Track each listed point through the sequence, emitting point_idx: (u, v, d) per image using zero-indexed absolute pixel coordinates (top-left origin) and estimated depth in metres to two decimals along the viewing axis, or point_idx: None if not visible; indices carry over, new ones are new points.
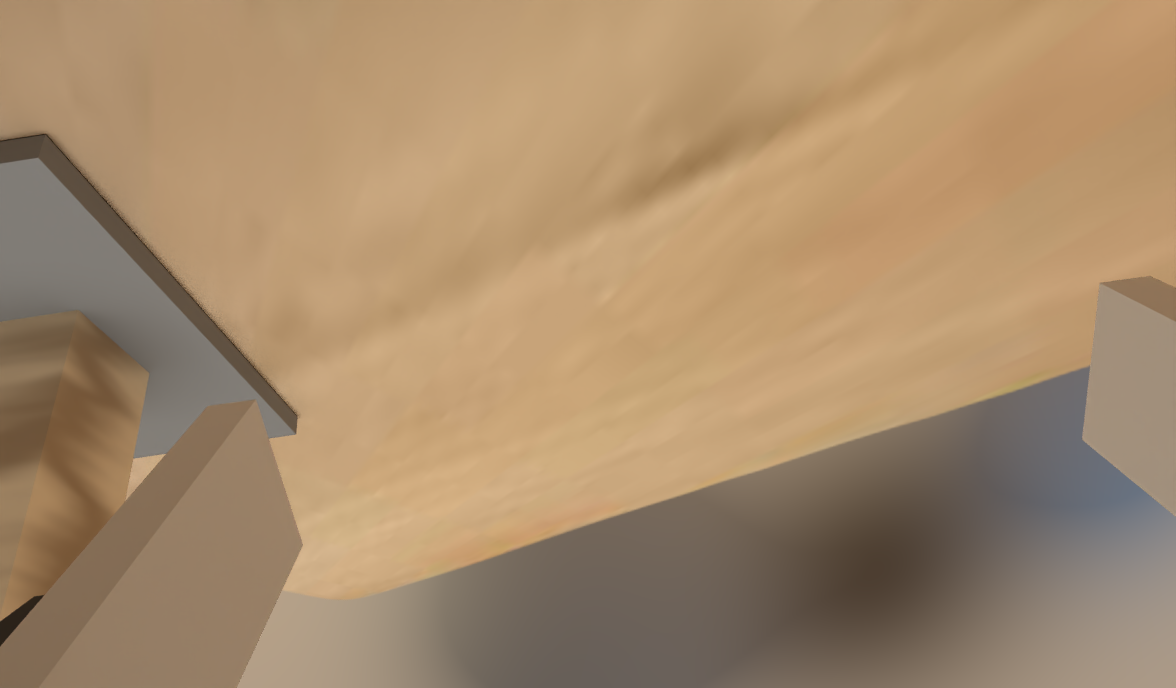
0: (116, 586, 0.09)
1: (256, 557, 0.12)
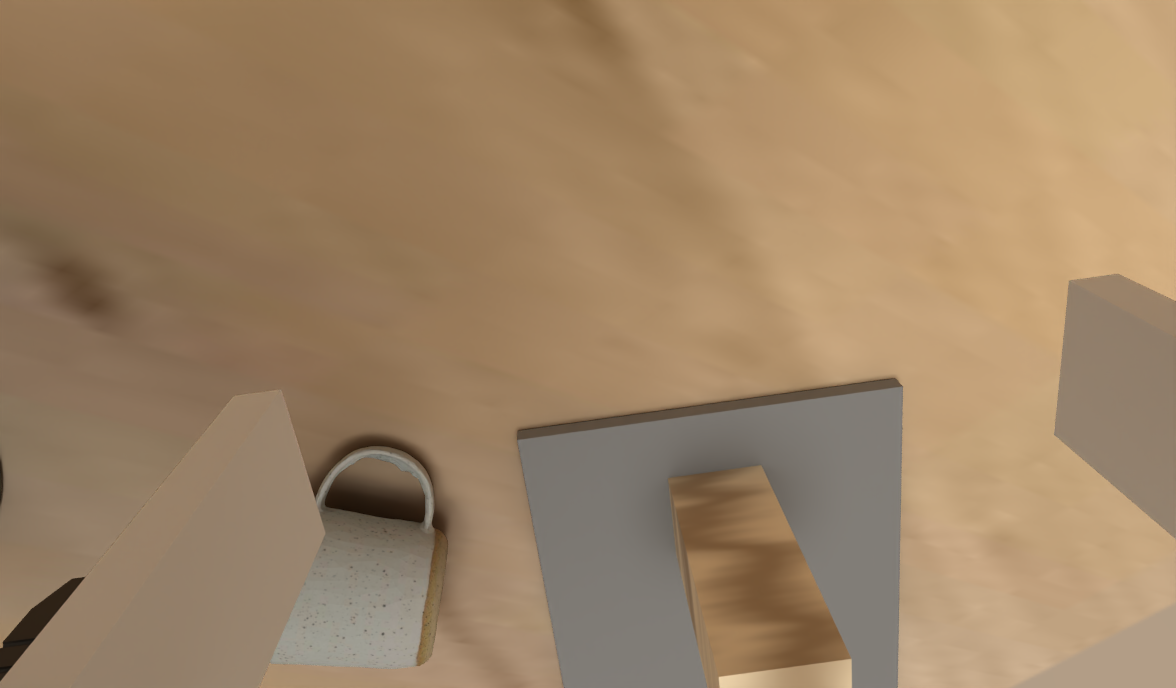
0: (157, 567, 0.09)
1: (283, 543, 0.12)
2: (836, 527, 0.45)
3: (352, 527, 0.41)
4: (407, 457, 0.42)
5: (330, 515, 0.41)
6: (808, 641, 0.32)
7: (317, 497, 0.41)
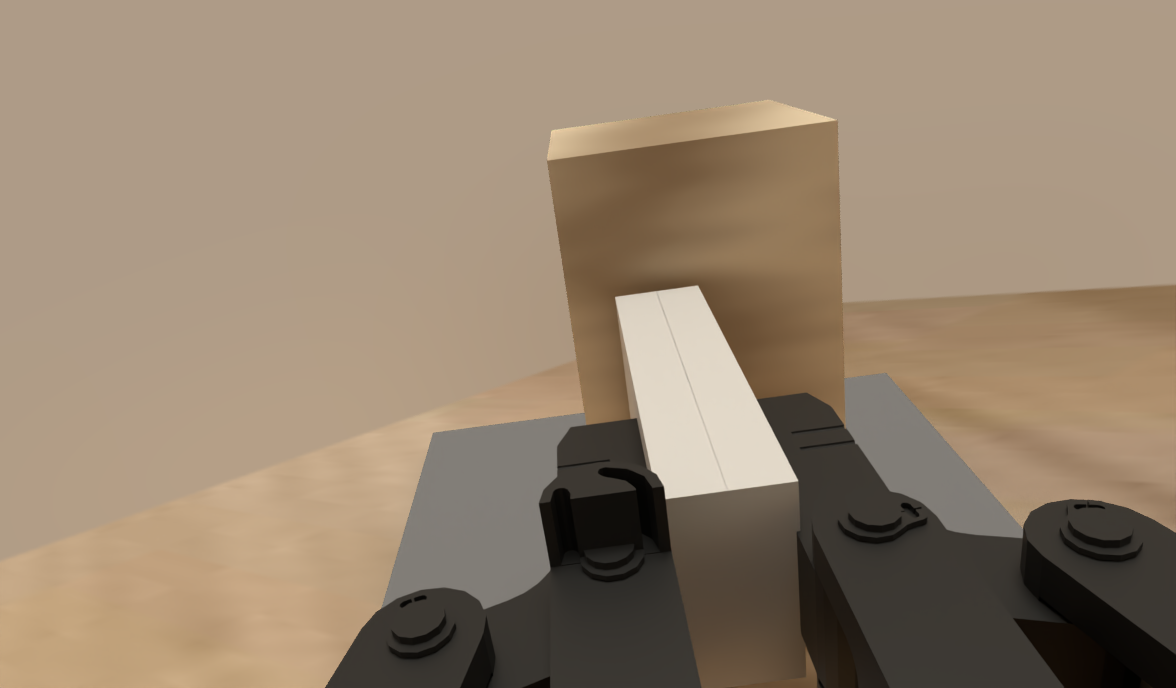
0: (693, 401, 0.11)
1: None
2: None
3: None
4: None
5: None
6: (627, 216, 0.14)
7: None
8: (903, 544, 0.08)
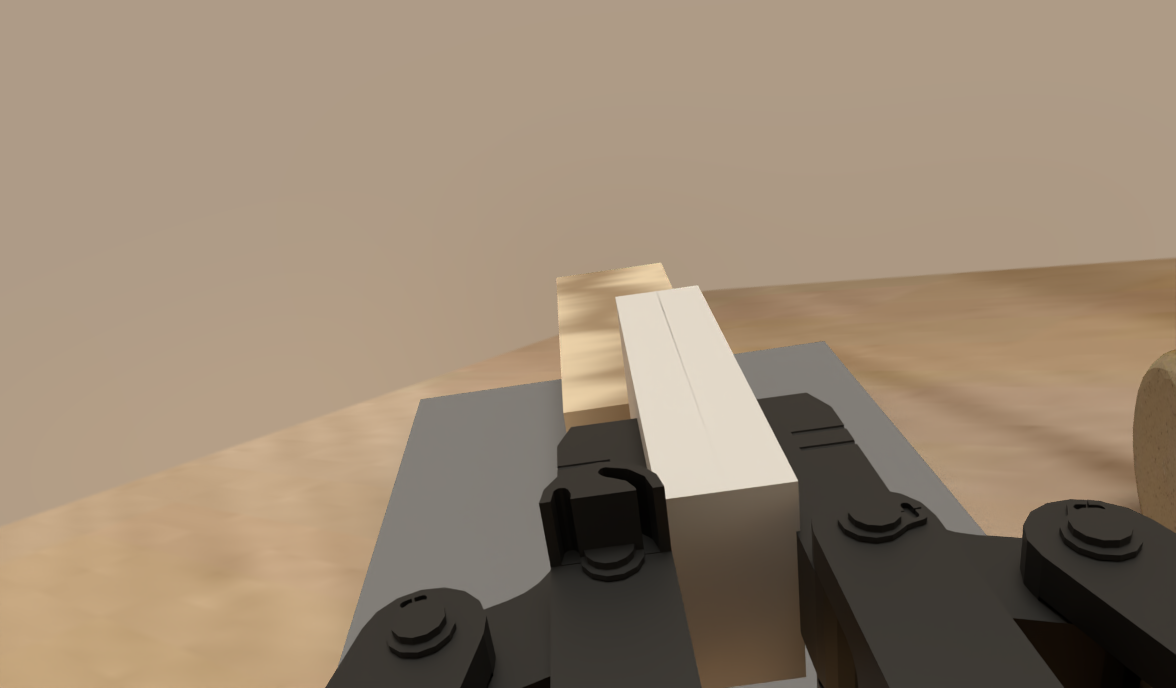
0: (693, 401, 0.11)
1: None
2: (468, 567, 0.28)
3: None
4: None
5: None
6: (583, 281, 0.38)
7: None
8: (903, 544, 0.08)
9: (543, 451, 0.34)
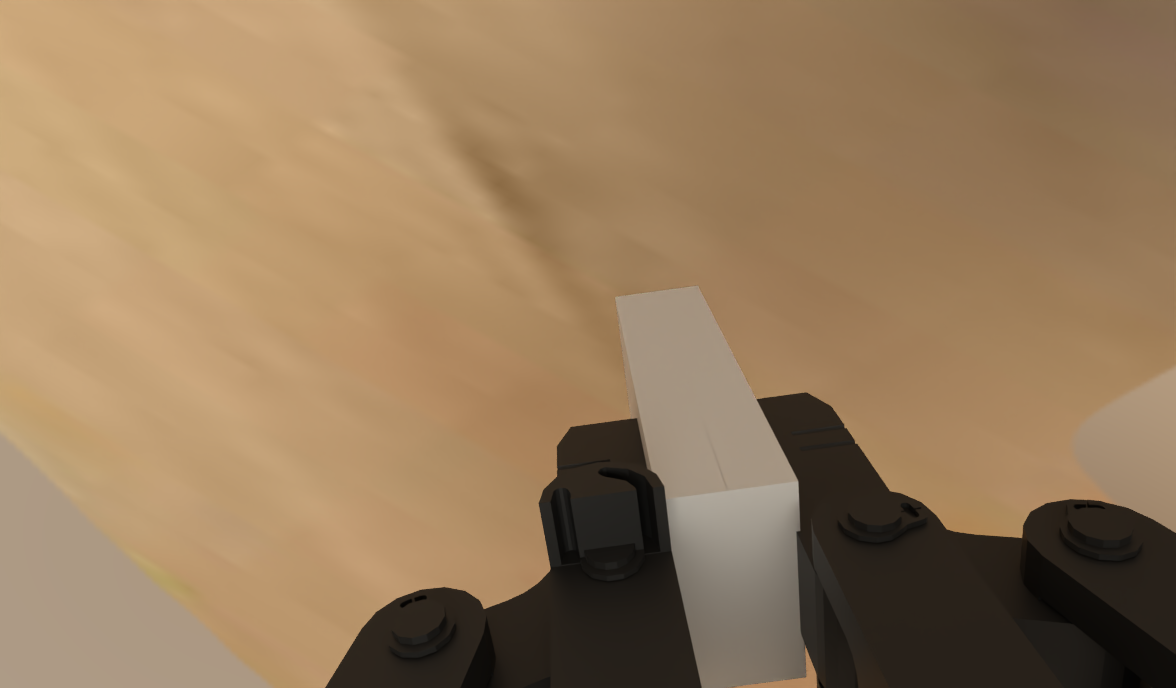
0: (693, 401, 0.11)
1: None
2: None
3: None
4: None
5: None
6: None
7: None
8: (903, 544, 0.08)
9: None
